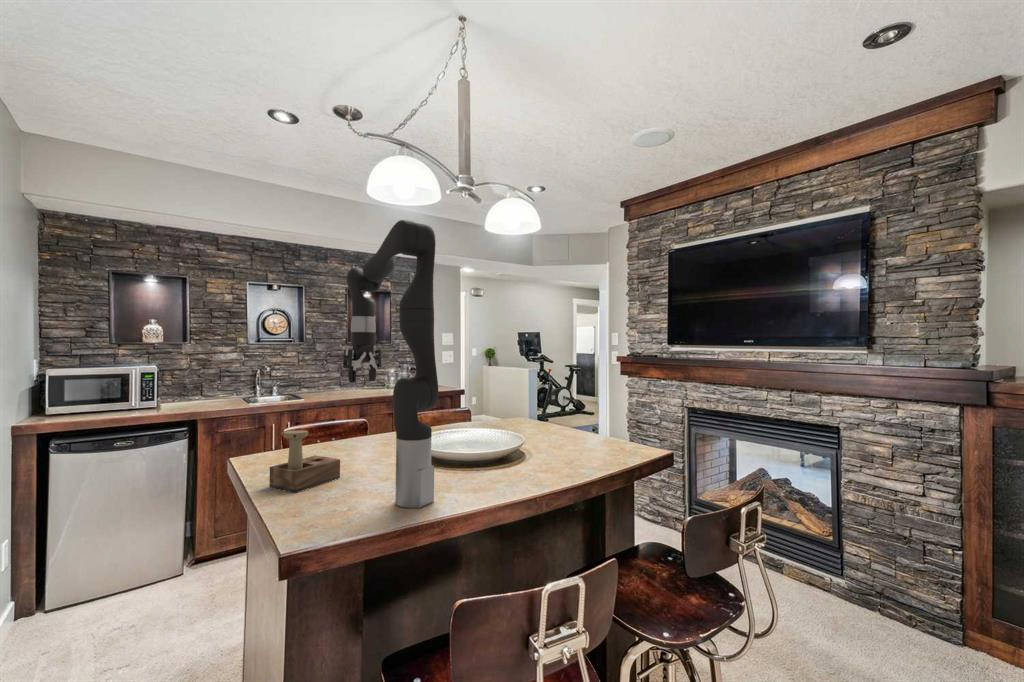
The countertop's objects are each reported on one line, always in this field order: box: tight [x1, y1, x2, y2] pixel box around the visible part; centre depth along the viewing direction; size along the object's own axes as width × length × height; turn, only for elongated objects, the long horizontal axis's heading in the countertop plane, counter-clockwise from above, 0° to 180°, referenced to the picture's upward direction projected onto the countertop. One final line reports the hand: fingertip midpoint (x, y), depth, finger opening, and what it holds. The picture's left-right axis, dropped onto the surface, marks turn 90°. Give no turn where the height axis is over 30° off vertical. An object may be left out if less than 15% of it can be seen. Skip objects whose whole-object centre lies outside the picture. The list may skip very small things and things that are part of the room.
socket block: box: [269, 455, 341, 494], centre depth 136 cm, size 11×16×6 cm
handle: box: [283, 429, 309, 470], centre depth 133 cm, size 5×6×15 cm
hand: (362, 381), depth 144 cm, fingers open, 8 cm apart
